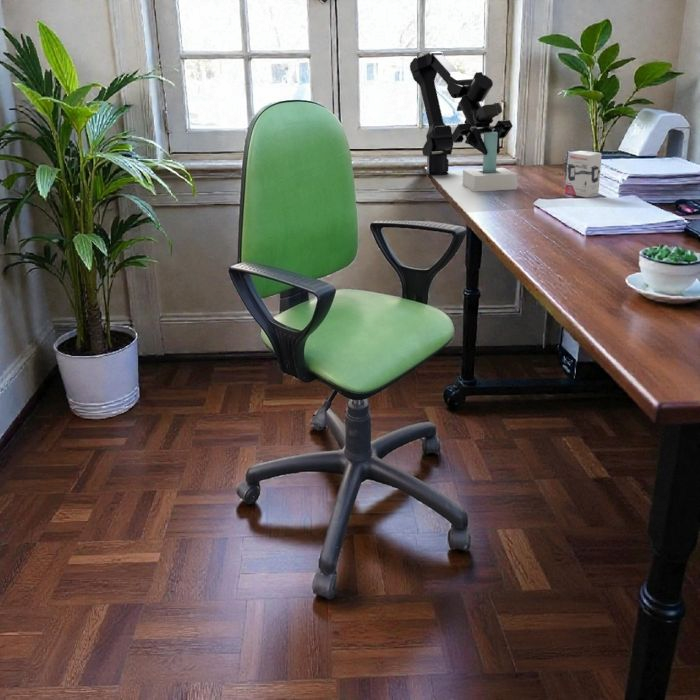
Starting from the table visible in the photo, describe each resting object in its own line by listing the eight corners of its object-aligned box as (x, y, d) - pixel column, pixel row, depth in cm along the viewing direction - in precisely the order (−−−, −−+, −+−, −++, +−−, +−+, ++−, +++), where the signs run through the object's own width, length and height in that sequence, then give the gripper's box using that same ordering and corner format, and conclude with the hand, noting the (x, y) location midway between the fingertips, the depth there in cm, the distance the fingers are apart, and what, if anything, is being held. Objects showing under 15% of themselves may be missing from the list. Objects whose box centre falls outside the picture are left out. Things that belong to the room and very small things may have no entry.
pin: (481, 175, 230) (483, 133, 225) (483, 173, 234) (485, 131, 229) (494, 176, 229) (496, 133, 224) (496, 174, 232) (498, 131, 228)
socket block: (474, 191, 226) (474, 176, 224) (462, 184, 238) (462, 169, 236) (516, 189, 227) (517, 174, 226) (502, 182, 239) (503, 167, 237)
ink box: (564, 193, 219) (567, 151, 214) (576, 191, 221) (579, 150, 217) (586, 197, 212) (590, 154, 207) (599, 195, 214) (603, 152, 210)
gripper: (457, 95, 222) (477, 138, 217) (510, 92, 229) (530, 133, 224) (443, 121, 232) (461, 162, 227) (494, 117, 239) (513, 157, 234)
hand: (492, 153), depth 228 cm, fingers closed on pin, 4 cm apart
